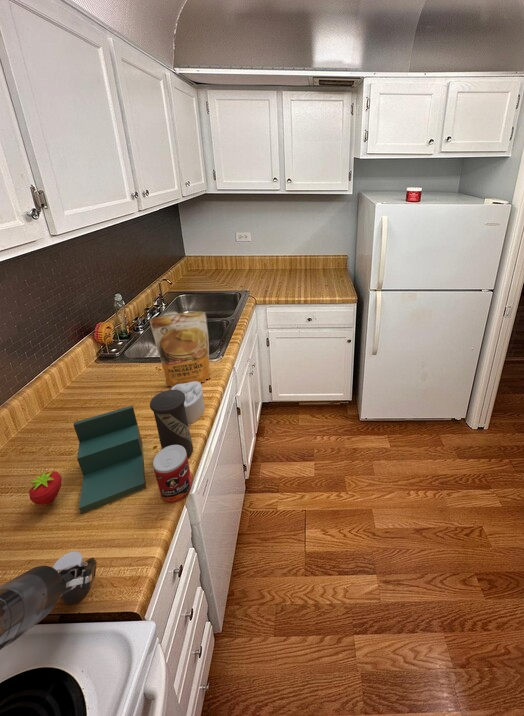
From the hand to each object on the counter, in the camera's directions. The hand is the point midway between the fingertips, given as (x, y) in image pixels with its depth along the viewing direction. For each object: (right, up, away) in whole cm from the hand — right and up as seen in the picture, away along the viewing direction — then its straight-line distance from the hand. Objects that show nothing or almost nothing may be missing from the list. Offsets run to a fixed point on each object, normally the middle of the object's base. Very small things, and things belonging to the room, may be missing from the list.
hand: (76, 566), depth 65 cm
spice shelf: (-7, +5, +24) cm, 26 cm away
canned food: (+11, +3, +20) cm, 23 cm away
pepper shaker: (0, -5, 0) cm, 5 cm away
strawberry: (-18, +2, +17) cm, 25 cm away
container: (+7, +8, +31) cm, 33 cm away
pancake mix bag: (-2, +20, +63) cm, 66 cm away
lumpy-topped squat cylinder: (+4, +14, +47) cm, 49 cm away
